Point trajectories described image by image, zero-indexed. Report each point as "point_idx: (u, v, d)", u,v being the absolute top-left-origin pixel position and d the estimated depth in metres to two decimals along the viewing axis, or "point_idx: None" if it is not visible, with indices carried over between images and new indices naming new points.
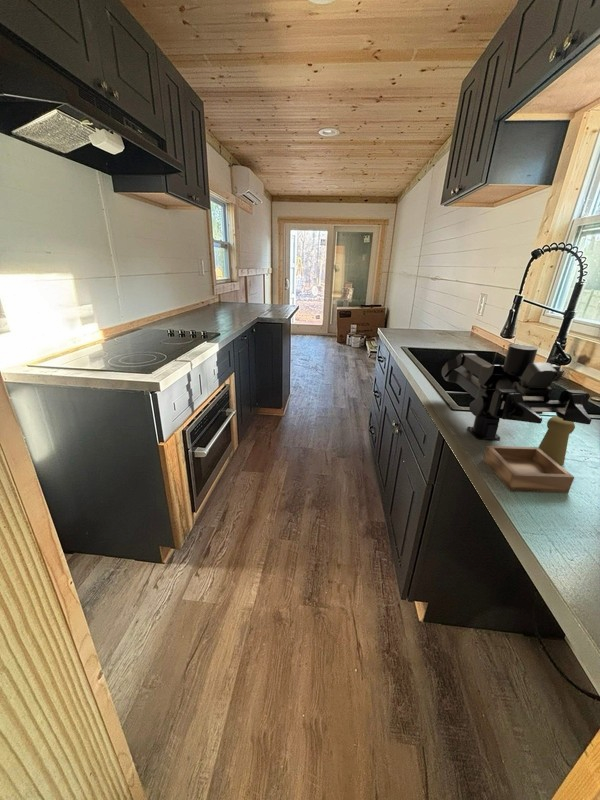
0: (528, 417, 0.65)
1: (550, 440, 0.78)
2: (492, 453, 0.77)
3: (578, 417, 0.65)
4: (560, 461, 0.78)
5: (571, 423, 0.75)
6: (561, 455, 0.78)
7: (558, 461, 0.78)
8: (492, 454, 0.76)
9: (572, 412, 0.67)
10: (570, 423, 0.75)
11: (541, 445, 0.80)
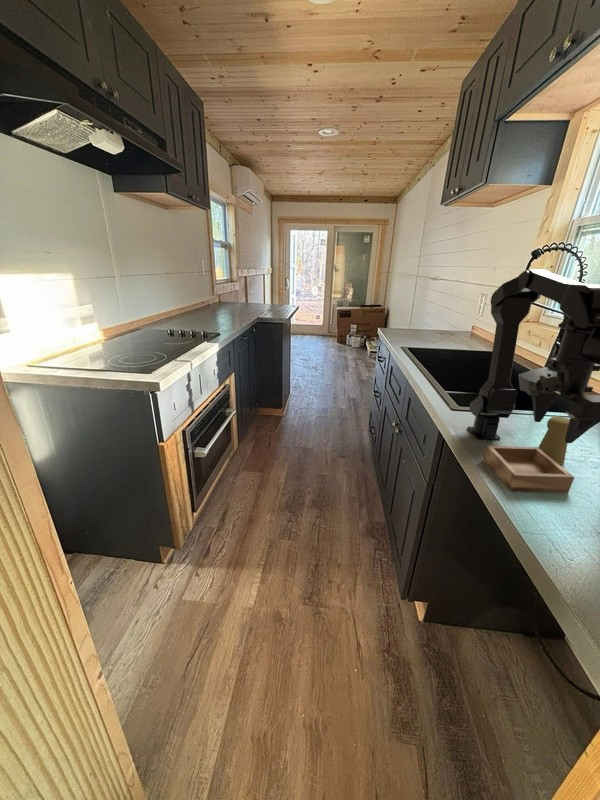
0: None
1: (550, 440, 0.78)
2: (492, 453, 0.77)
3: None
4: (560, 461, 0.78)
5: None
6: (561, 455, 0.78)
7: (558, 461, 0.78)
8: (492, 454, 0.76)
9: None
10: None
11: (541, 445, 0.80)
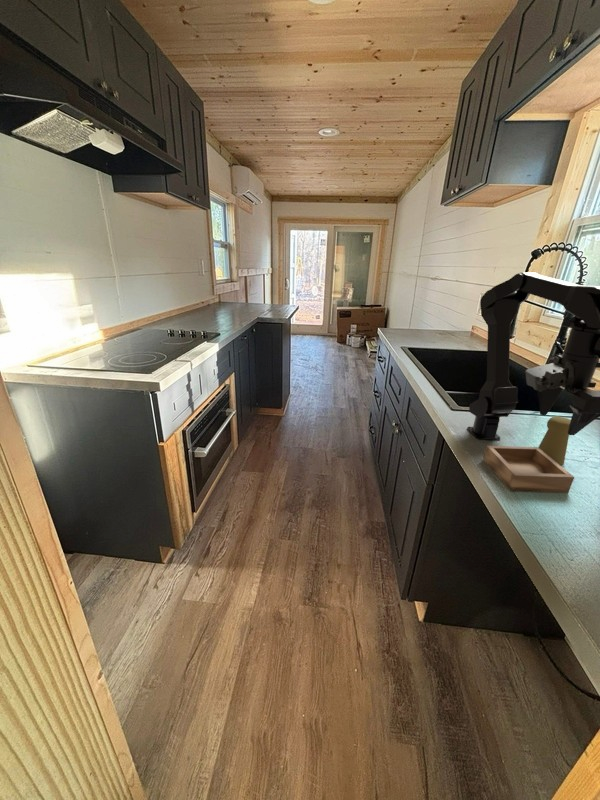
0: None
1: (550, 440, 0.78)
2: (492, 453, 0.77)
3: None
4: (560, 461, 0.78)
5: None
6: (561, 455, 0.78)
7: (558, 461, 0.78)
8: (492, 454, 0.76)
9: None
10: None
11: (541, 445, 0.80)
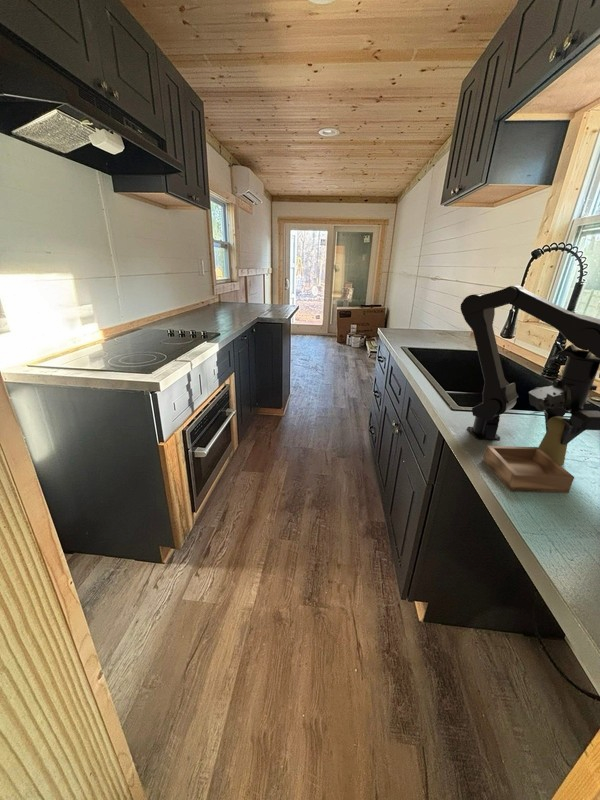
0: None
1: (550, 440, 0.78)
2: (492, 453, 0.77)
3: None
4: (560, 461, 0.78)
5: None
6: (561, 455, 0.78)
7: (558, 461, 0.78)
8: (492, 454, 0.76)
9: None
10: None
11: (541, 445, 0.80)
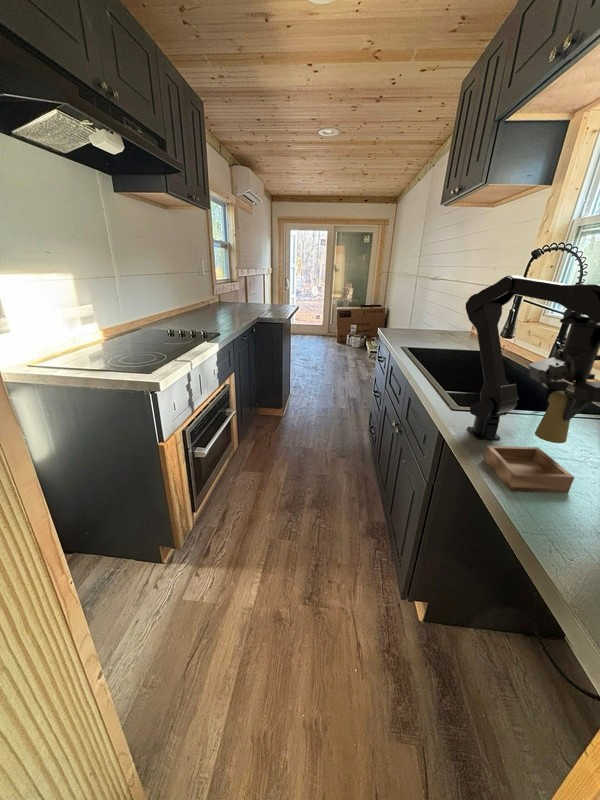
0: None
1: (552, 417, 0.73)
2: (492, 453, 0.77)
3: None
4: (562, 439, 0.73)
5: None
6: (563, 431, 0.73)
7: (560, 439, 0.73)
8: (492, 454, 0.76)
9: None
10: None
11: (542, 422, 0.75)
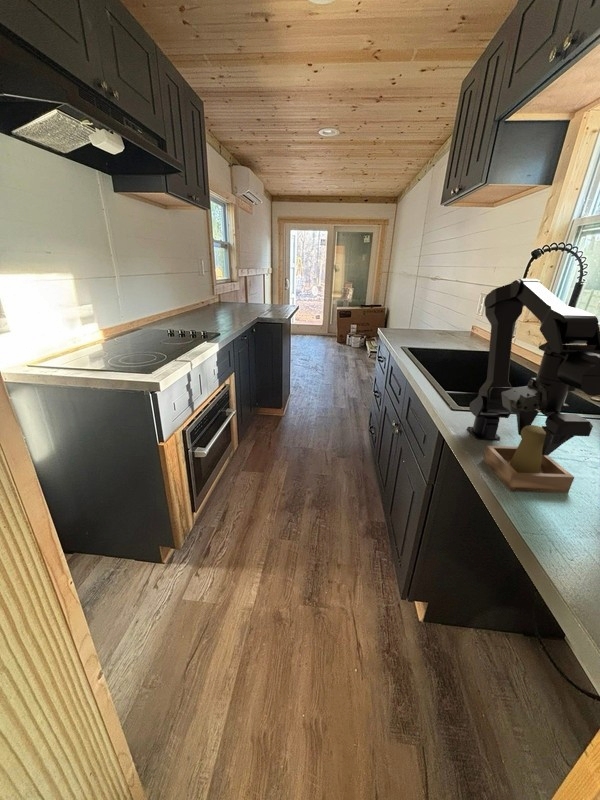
0: None
1: (524, 451, 0.71)
2: (492, 453, 0.77)
3: None
4: None
5: None
6: (535, 467, 0.71)
7: None
8: (492, 454, 0.76)
9: None
10: (544, 433, 0.69)
11: (514, 456, 0.74)
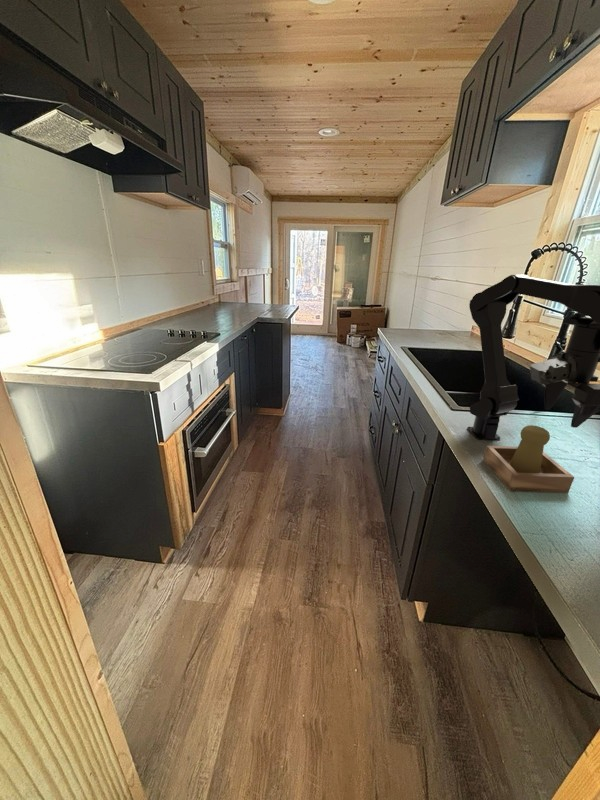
0: None
1: (524, 452, 0.71)
2: (492, 453, 0.77)
3: None
4: None
5: (545, 433, 0.69)
6: (535, 467, 0.71)
7: None
8: (492, 454, 0.76)
9: None
10: (544, 433, 0.69)
11: (514, 456, 0.74)
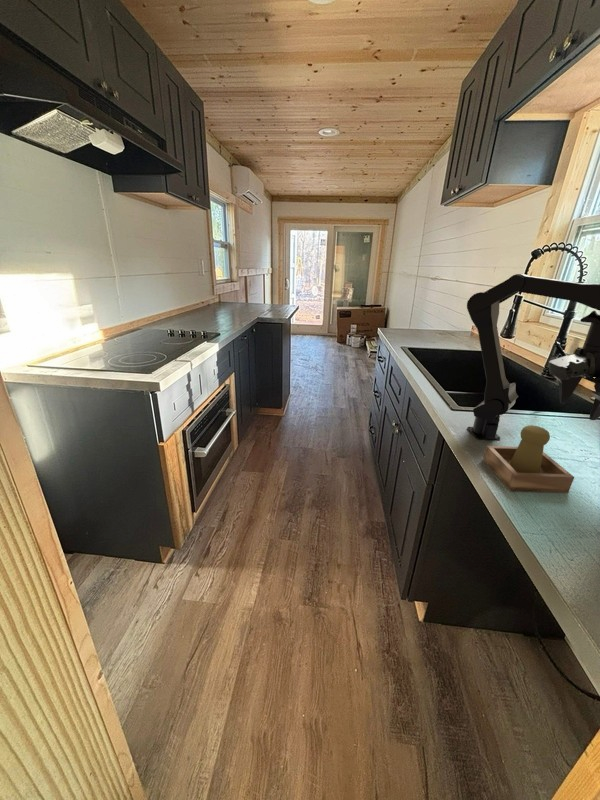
0: None
1: (524, 452, 0.71)
2: (492, 453, 0.77)
3: None
4: None
5: (545, 433, 0.69)
6: (535, 467, 0.71)
7: None
8: (492, 454, 0.76)
9: None
10: (544, 433, 0.69)
11: (514, 456, 0.74)
